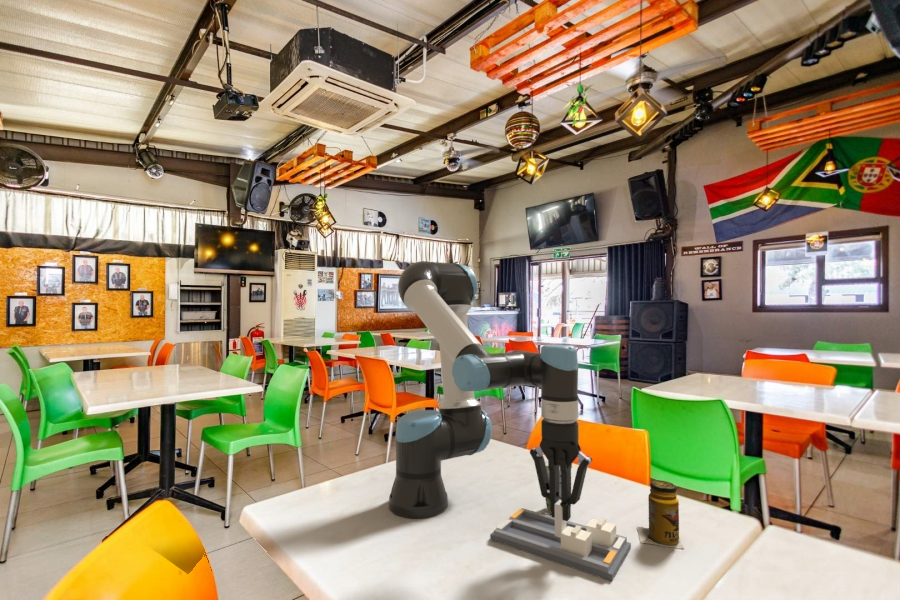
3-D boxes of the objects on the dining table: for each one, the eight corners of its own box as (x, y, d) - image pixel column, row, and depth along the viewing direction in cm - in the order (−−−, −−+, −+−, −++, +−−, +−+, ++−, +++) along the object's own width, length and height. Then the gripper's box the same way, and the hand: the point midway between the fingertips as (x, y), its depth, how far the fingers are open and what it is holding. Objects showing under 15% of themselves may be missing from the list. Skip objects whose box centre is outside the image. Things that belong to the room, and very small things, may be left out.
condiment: (683, 549, 94) (683, 491, 94) (640, 543, 96) (639, 487, 97) (677, 533, 101) (676, 479, 101) (637, 527, 103) (636, 475, 104)
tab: (560, 551, 90) (560, 529, 90) (567, 543, 94) (567, 522, 94) (585, 559, 87) (585, 536, 88) (591, 550, 91) (591, 528, 91)
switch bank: (490, 539, 98) (490, 528, 98) (519, 516, 109) (519, 506, 109) (612, 581, 83) (612, 568, 83) (630, 548, 94) (630, 537, 94)
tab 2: (586, 542, 94) (586, 521, 94) (592, 535, 97) (592, 514, 97) (610, 550, 91) (610, 528, 91) (616, 542, 94) (616, 520, 94)
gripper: (523, 418, 94) (524, 532, 93) (584, 427, 86) (585, 551, 85) (538, 412, 100) (539, 519, 99) (596, 420, 92) (598, 536, 92)
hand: (560, 534), depth 92 cm, fingers closed
